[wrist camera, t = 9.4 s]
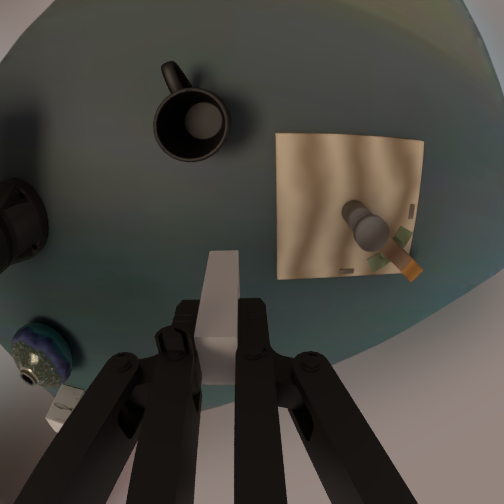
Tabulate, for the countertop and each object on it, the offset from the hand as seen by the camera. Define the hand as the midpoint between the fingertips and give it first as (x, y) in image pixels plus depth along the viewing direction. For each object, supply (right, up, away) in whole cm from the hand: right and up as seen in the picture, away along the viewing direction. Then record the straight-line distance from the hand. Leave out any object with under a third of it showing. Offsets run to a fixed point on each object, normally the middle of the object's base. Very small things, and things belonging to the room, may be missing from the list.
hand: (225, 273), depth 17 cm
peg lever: (+20, +4, +27) cm, 34 cm away
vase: (-44, -19, +40) cm, 63 cm away
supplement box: (-46, -37, +50) cm, 78 cm away
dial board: (+16, +8, +27) cm, 32 cm away
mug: (-6, +20, +21) cm, 30 cm away
